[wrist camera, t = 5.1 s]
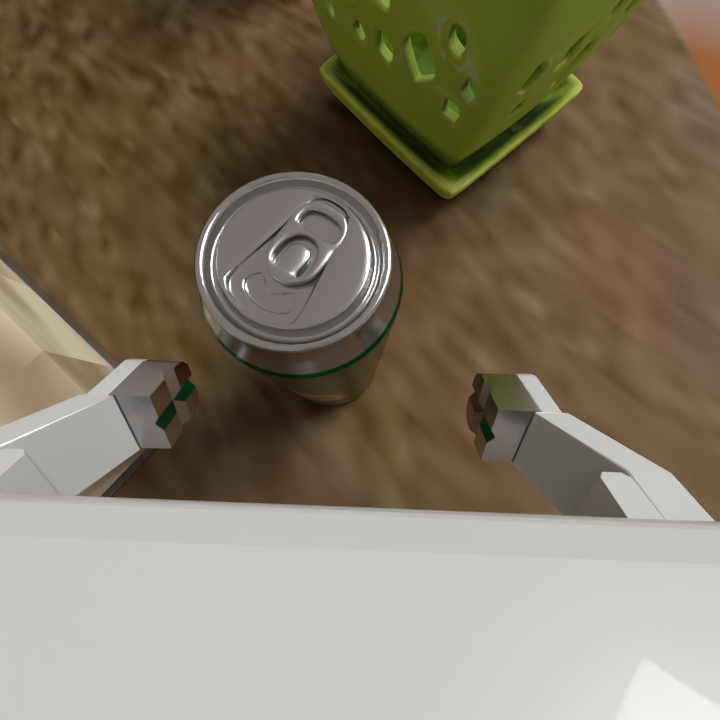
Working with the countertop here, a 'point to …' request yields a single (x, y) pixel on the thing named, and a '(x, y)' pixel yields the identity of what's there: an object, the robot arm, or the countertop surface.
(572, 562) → the robot arm
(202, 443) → the countertop surface
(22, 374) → the can holder
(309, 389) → the soda can
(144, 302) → the countertop surface
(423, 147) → the flower pot
